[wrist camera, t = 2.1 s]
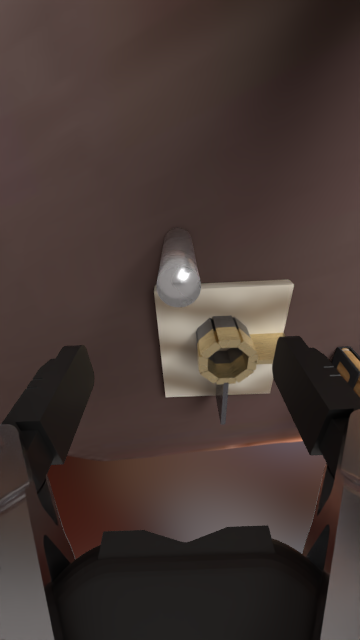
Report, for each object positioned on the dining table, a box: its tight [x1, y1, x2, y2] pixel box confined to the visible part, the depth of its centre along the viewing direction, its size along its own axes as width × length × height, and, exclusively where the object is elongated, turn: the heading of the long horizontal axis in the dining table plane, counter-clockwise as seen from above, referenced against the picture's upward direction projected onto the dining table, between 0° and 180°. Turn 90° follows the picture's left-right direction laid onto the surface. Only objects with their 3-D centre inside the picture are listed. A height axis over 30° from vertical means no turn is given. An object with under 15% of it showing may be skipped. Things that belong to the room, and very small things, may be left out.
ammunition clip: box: [332, 347, 360, 397], centre depth 32 cm, size 11×2×12 cm, turn 4°
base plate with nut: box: [154, 280, 294, 424], centre depth 31 cm, size 18×16×6 cm
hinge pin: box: [156, 227, 201, 307], centre depth 21 cm, size 3×3×12 cm
